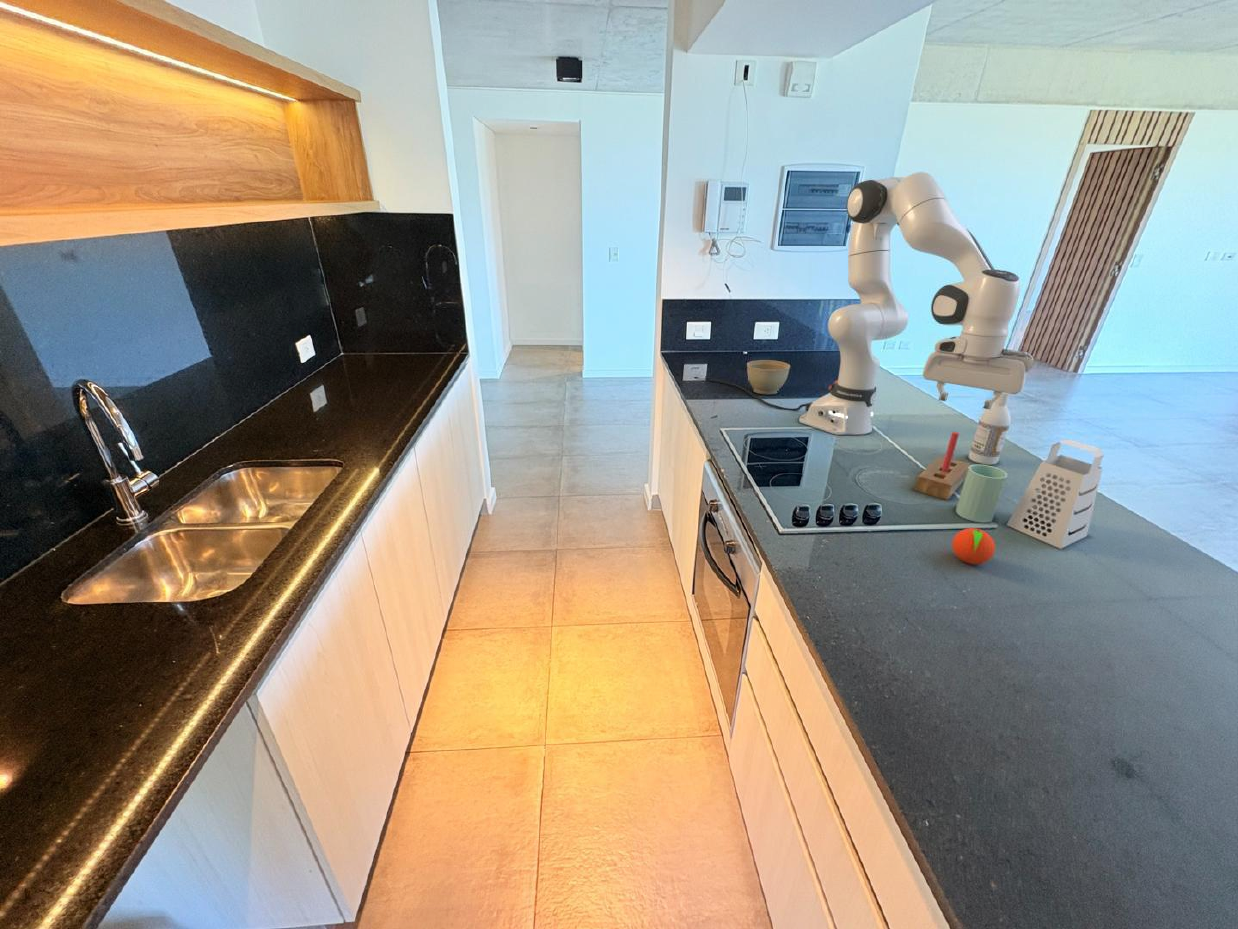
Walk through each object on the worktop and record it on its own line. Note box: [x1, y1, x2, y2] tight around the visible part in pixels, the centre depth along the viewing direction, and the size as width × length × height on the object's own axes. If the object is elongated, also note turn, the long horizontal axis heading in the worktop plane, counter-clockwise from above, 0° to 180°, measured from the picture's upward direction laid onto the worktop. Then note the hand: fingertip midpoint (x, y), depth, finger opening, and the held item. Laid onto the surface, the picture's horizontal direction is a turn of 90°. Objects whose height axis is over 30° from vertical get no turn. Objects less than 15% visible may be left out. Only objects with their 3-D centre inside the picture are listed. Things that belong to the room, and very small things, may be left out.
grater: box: [1006, 438, 1105, 549], centre depth 110 cm, size 10×10×20 cm
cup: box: [955, 463, 1009, 524], centre depth 118 cm, size 7×7×11 cm
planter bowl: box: [746, 359, 791, 395], centre depth 206 cm, size 16×16×11 cm
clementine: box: [951, 527, 996, 565], centre depth 102 cm, size 8×7×7 cm
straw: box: [941, 431, 960, 472], centre depth 132 cm, size 2×2×14 cm
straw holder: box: [914, 455, 972, 501], centre depth 134 cm, size 7×17×4 cm, turn 136°
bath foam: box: [968, 392, 1012, 466], centre depth 144 cm, size 7×7×20 cm
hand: (964, 404), depth 126 cm, fingers open, 8 cm apart
